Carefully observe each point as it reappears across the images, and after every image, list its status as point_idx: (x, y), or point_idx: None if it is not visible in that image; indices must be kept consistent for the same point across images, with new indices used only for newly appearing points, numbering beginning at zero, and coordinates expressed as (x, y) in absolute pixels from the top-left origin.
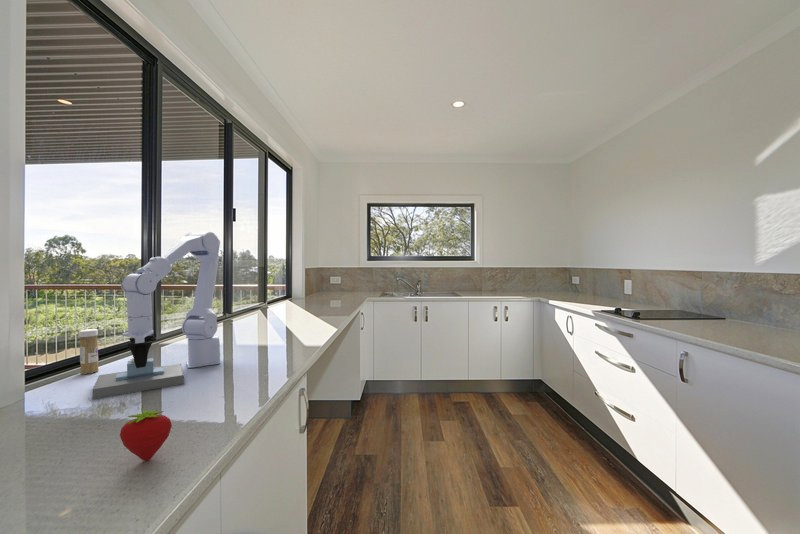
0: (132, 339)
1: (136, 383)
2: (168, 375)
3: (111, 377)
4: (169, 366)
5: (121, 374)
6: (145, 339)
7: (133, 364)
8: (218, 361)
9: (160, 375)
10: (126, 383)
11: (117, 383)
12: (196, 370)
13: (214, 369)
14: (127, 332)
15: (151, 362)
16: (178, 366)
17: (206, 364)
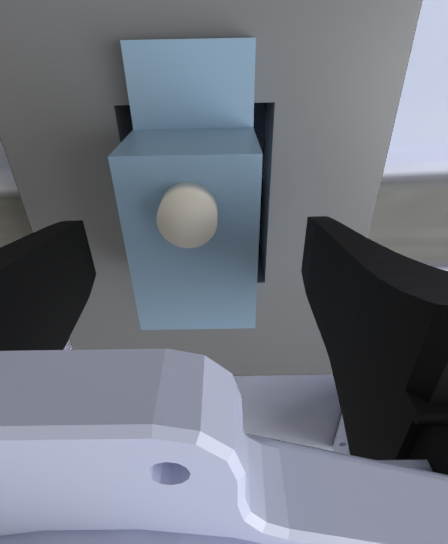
0: (423, 340)
1: (20, 185)
2: (106, 328)
3: None
4: (315, 332)
5: (212, 79)
6: (369, 440)
7: (121, 205)
8: (347, 453)
9: (127, 297)
10: (9, 128)
11: (32, 62)
12: (297, 386)
13: (262, 429)
14: (179, 524)
15: (139, 314)
16: (280, 364)
17: (341, 422)
